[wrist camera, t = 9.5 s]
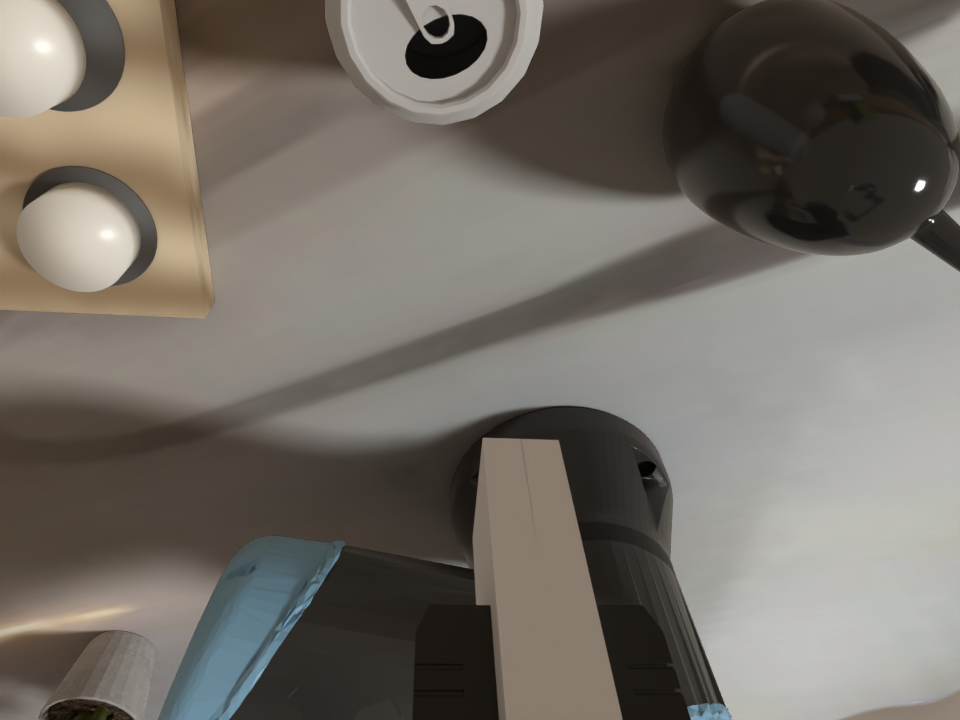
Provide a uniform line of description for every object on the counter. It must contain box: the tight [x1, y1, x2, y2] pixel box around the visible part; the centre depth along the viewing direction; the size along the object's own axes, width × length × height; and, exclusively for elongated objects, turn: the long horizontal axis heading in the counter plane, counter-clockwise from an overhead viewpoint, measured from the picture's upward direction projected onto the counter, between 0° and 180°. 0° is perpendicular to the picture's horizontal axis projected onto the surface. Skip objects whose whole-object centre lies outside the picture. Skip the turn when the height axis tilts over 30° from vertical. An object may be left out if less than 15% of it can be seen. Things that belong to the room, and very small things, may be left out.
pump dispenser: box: [663, 0, 960, 272], centre depth 30 cm, size 10×10×15 cm
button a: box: [16, 182, 141, 292], centre depth 35 cm, size 5×5×2 cm
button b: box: [0, 0, 86, 118], centre depth 28 cm, size 5×5×2 cm
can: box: [325, 0, 543, 125], centre depth 28 cm, size 8×8×12 cm
